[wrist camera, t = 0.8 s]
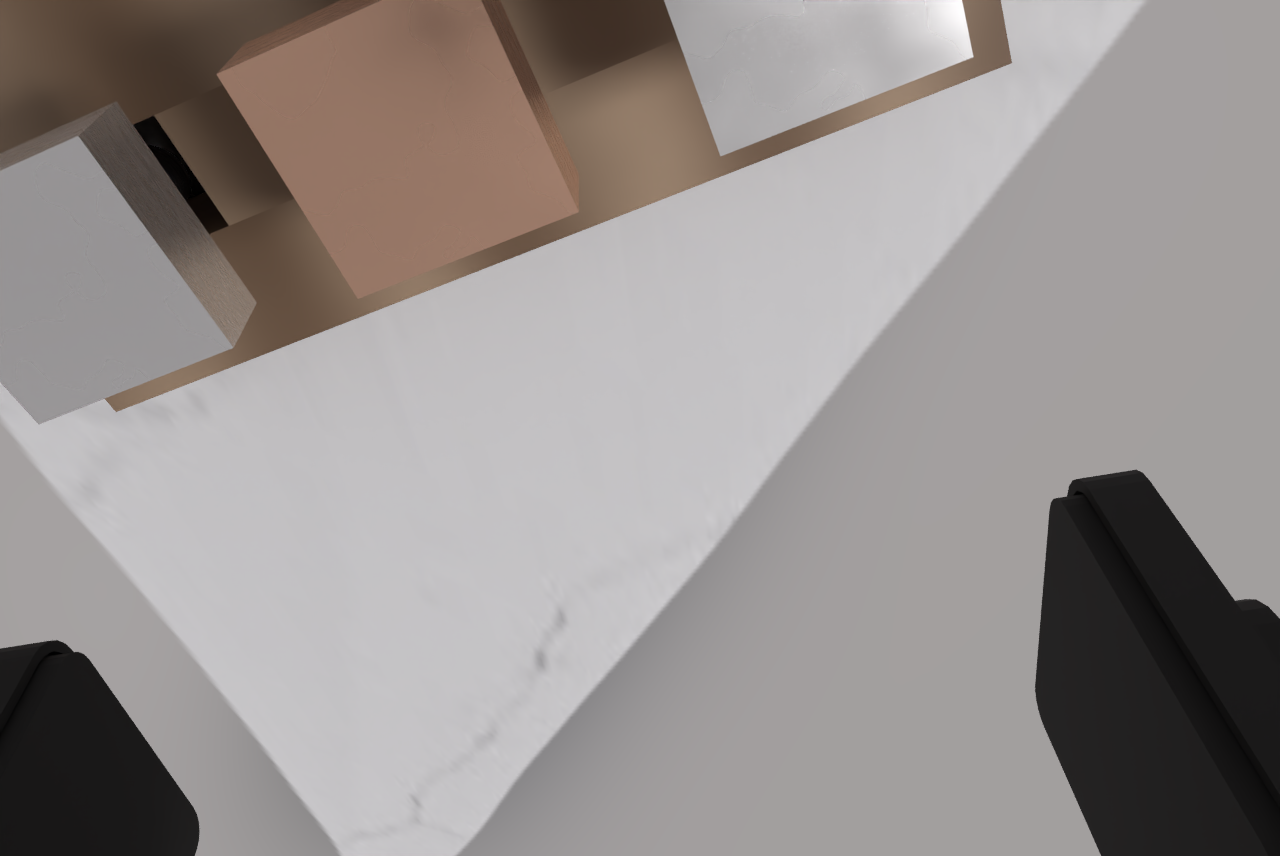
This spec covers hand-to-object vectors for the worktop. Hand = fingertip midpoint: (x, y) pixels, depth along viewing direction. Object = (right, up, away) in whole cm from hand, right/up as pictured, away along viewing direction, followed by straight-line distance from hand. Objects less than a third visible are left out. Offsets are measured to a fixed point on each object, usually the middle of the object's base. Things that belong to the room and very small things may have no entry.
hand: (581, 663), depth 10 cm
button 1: (-12, +9, +16) cm, 22 cm away
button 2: (+3, +14, +13) cm, 19 cm away
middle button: (-4, +11, +15) cm, 19 cm away
